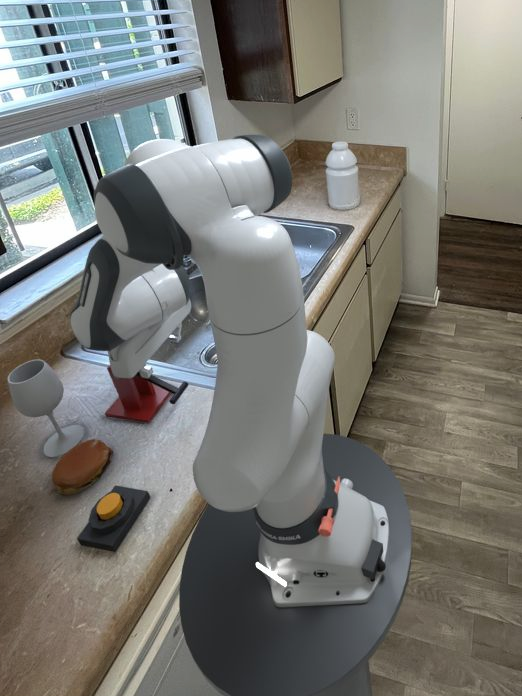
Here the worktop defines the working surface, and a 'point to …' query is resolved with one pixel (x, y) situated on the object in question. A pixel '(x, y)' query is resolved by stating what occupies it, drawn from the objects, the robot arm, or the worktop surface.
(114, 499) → the button
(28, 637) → the worktop surface
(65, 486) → the burger
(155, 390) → the bracket
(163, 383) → the lever
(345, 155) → the bottle
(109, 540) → the button box
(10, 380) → the wineglass
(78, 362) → the worktop surface
